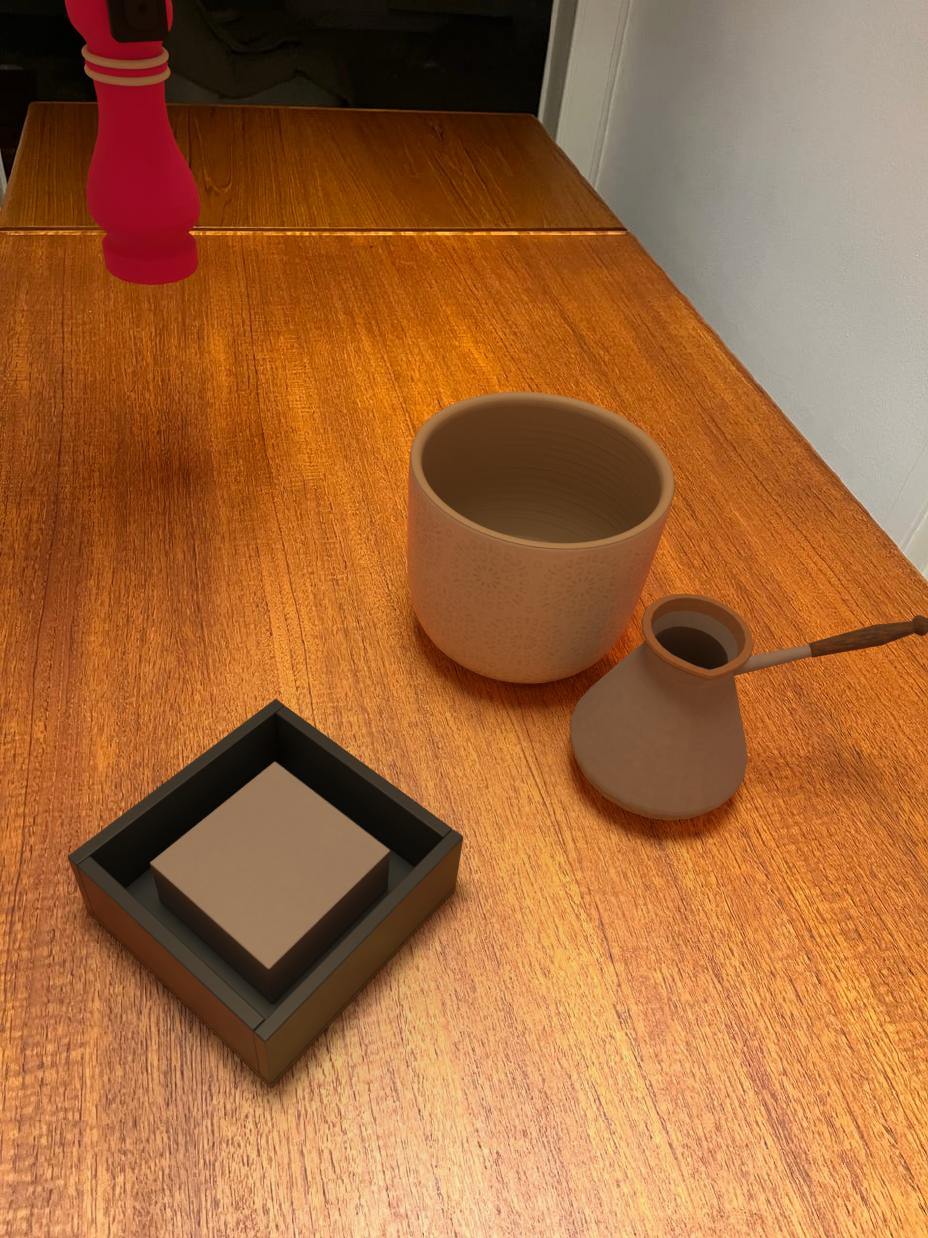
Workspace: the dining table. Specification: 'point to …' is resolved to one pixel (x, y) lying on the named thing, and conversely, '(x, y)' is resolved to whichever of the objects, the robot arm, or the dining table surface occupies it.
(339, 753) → the dark square tray
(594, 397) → the dining table surface
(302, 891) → the brown square block
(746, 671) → the coffee pot
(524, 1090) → the dining table surface
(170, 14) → the pepper mill
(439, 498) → the planter
